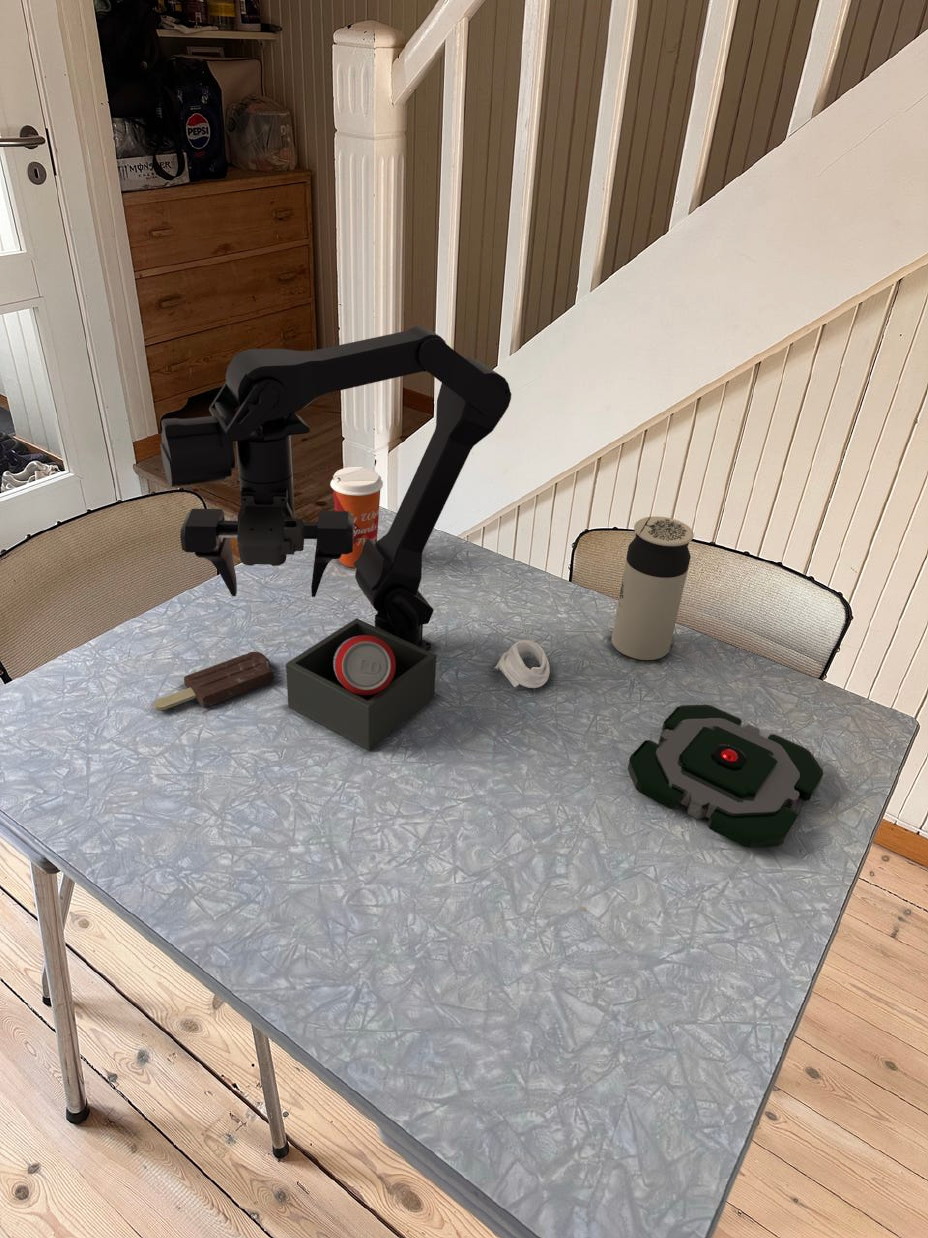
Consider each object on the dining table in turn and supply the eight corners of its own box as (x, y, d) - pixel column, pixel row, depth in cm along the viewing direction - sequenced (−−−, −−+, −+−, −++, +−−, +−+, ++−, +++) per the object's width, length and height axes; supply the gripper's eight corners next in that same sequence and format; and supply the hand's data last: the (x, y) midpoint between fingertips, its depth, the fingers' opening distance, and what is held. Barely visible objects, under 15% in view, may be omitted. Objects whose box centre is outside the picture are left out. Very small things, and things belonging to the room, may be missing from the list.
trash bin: (357, 659, 113) (356, 617, 109) (434, 697, 107) (436, 654, 104) (288, 707, 104) (285, 663, 101) (368, 751, 98) (368, 706, 95)
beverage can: (337, 631, 107) (341, 630, 95) (391, 641, 108) (402, 640, 96) (327, 685, 106) (330, 691, 94) (382, 694, 107) (391, 701, 96)
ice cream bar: (164, 724, 100) (280, 679, 109) (162, 713, 99) (279, 668, 108) (146, 700, 103) (259, 658, 112) (144, 690, 103) (258, 648, 111)
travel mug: (677, 642, 121) (704, 526, 111) (656, 669, 115) (682, 550, 105) (625, 622, 124) (646, 509, 114) (601, 648, 118) (622, 531, 109)
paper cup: (343, 575, 131) (341, 490, 123) (325, 552, 136) (322, 469, 128) (390, 565, 134) (392, 482, 126) (371, 543, 139) (371, 462, 132)
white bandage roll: (522, 657, 117) (524, 625, 115) (563, 674, 113) (566, 642, 111) (484, 679, 112) (486, 645, 109) (526, 698, 108) (529, 664, 106)
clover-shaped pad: (613, 787, 96) (619, 757, 93) (683, 710, 108) (690, 680, 106) (769, 871, 87) (781, 839, 85) (825, 776, 100) (837, 745, 97)
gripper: (161, 503, 86) (180, 633, 95) (350, 507, 88) (352, 633, 97) (182, 459, 96) (198, 580, 104) (353, 463, 97) (354, 582, 106)
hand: (274, 595), depth 102 cm, fingers open, 9 cm apart
